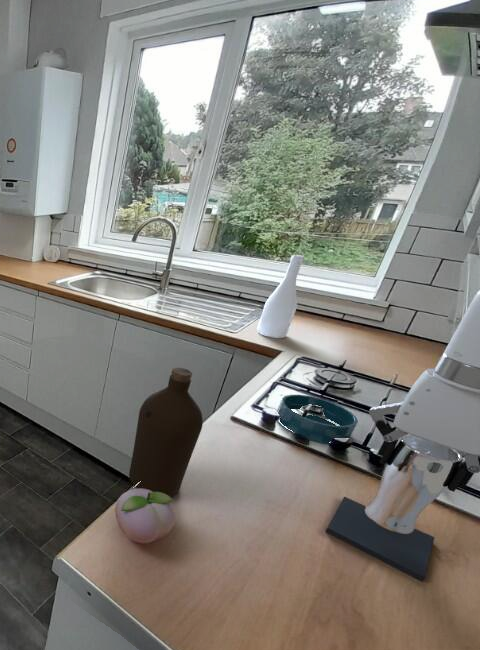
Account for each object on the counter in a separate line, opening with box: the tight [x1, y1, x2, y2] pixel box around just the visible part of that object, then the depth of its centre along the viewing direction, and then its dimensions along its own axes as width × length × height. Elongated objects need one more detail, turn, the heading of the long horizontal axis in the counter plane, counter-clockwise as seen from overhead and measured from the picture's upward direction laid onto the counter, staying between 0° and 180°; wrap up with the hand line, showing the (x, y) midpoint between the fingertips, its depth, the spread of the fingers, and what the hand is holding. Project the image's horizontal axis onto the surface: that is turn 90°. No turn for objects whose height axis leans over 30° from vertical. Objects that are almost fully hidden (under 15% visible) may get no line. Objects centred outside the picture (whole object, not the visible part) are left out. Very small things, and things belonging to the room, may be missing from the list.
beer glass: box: [364, 434, 463, 534], centre depth 66 cm, size 7×7×15 cm
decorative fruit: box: [114, 488, 176, 544], centre depth 68 cm, size 9×8×10 cm
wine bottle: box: [256, 254, 305, 339], centre depth 150 cm, size 10×10×30 cm
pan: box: [276, 394, 359, 445], centre depth 99 cm, size 14×14×5 cm
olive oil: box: [128, 367, 204, 498], centre depth 77 cm, size 11×11×25 cm
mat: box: [324, 496, 435, 582], centre depth 70 cm, size 12×12×1 cm
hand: (416, 472), depth 64 cm, fingers closed on beer glass, 7 cm apart
